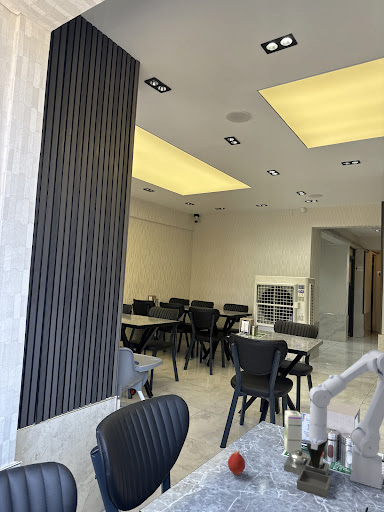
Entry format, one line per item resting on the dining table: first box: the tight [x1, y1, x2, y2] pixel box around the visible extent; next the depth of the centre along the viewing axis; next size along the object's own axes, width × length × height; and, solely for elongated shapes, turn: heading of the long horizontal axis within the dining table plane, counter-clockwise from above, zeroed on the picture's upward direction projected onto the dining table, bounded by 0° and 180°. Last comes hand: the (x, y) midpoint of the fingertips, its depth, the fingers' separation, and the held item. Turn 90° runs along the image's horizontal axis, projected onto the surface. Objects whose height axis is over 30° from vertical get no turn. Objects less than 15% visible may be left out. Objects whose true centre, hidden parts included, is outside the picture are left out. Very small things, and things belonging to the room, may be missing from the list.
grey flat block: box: [283, 450, 331, 476], centre depth 128 cm, size 14×10×5 cm
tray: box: [296, 469, 332, 499], centre depth 117 cm, size 9×9×2 cm
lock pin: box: [311, 450, 325, 469], centre depth 125 cm, size 5×5×6 cm
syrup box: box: [283, 410, 303, 454], centre depth 143 cm, size 6×6×14 cm
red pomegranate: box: [227, 450, 246, 476], centre depth 121 cm, size 6×6×8 cm
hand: (316, 463), depth 125 cm, fingers open, 6 cm apart
